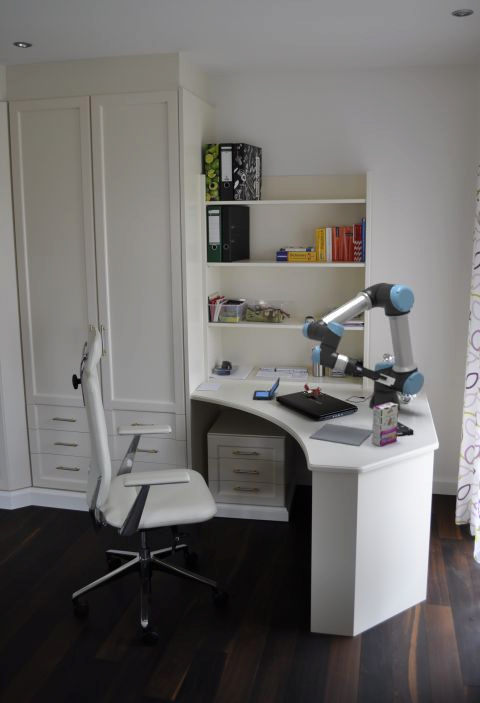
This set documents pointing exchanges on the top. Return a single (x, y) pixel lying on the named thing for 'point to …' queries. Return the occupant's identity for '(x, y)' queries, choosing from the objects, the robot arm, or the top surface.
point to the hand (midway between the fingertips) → (392, 382)
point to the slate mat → (342, 434)
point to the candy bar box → (385, 424)
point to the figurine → (312, 391)
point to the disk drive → (403, 430)
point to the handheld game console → (266, 393)
